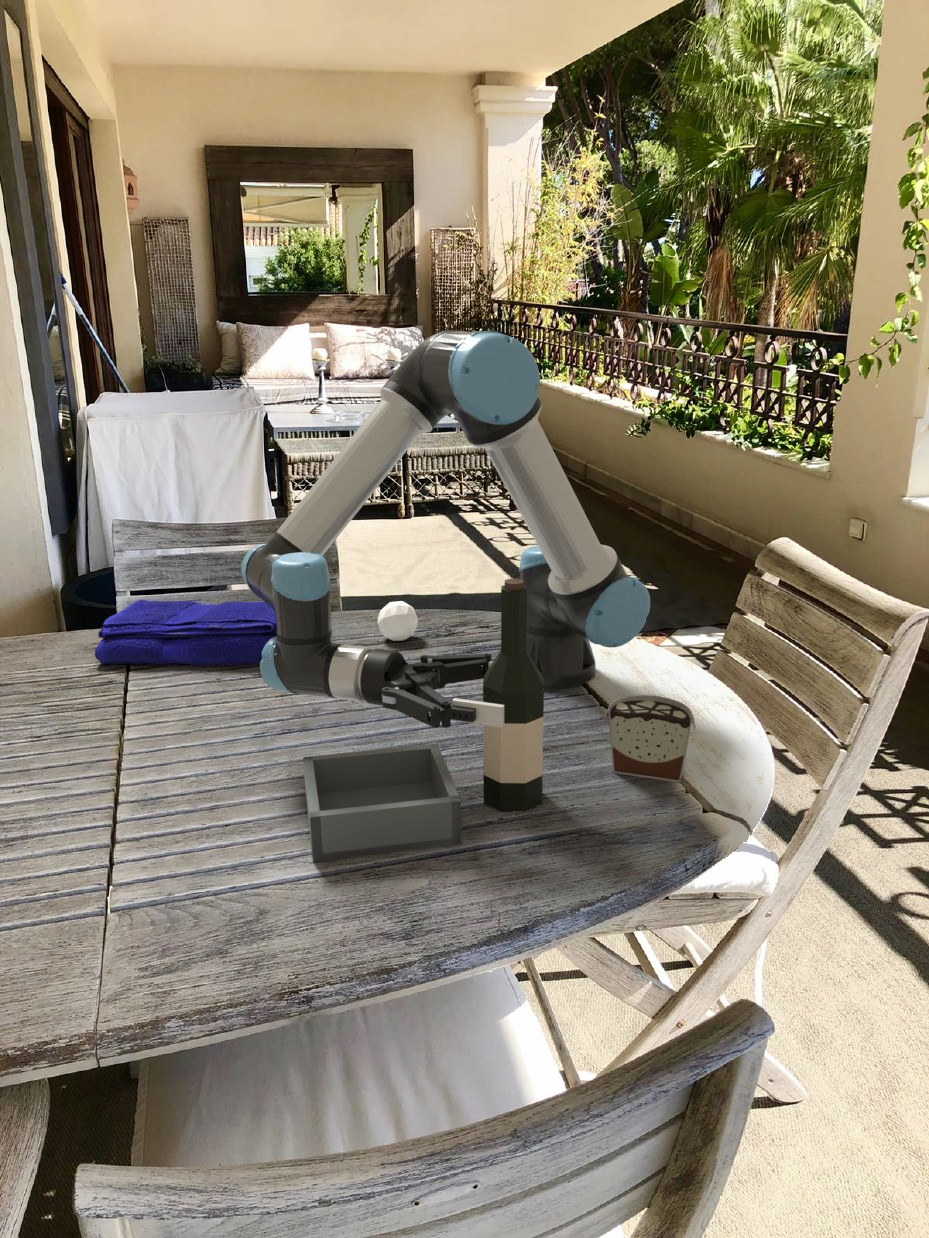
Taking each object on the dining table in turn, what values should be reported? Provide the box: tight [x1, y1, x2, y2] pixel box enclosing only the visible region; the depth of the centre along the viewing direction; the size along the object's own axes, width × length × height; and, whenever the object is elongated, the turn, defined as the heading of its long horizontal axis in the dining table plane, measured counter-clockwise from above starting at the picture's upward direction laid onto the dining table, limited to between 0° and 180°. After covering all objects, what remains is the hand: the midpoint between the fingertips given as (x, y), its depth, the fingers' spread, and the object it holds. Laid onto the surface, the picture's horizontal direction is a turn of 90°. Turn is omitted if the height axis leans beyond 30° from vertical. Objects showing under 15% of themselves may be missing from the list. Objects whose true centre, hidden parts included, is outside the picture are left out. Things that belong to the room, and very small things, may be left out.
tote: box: [302, 743, 463, 863], centre depth 124 cm, size 18×16×6 cm
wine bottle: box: [482, 578, 545, 813], centre depth 126 cm, size 8×8×30 cm
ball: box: [376, 600, 419, 642], centre depth 190 cm, size 8×8×8 cm
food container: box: [603, 694, 696, 783], centre depth 137 cm, size 12×6×10 cm, turn 71°
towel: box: [94, 599, 277, 667], centre depth 188 cm, size 26×36×9 cm
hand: (520, 695), depth 125 cm, fingers open, 13 cm apart
